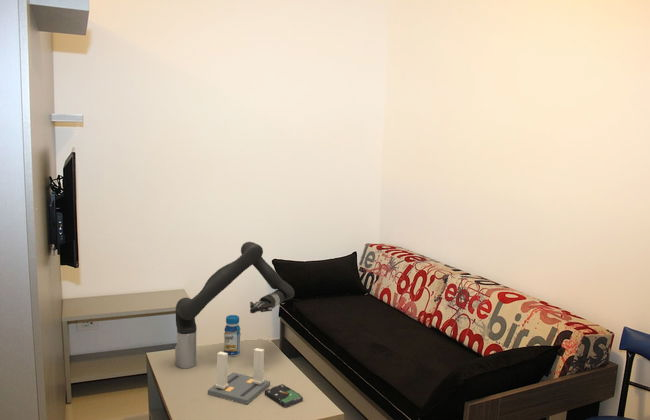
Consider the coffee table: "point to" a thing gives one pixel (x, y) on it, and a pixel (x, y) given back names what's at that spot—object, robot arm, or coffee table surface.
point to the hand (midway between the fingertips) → (251, 311)
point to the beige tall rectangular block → (258, 366)
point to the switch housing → (239, 388)
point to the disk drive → (283, 395)
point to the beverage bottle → (232, 336)
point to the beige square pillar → (222, 370)
